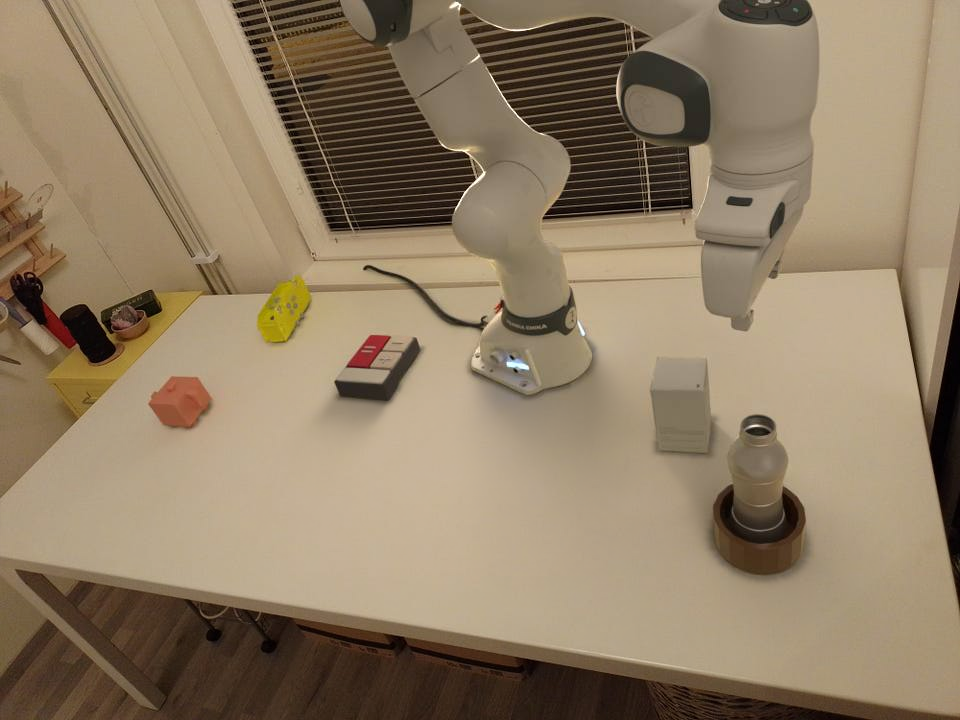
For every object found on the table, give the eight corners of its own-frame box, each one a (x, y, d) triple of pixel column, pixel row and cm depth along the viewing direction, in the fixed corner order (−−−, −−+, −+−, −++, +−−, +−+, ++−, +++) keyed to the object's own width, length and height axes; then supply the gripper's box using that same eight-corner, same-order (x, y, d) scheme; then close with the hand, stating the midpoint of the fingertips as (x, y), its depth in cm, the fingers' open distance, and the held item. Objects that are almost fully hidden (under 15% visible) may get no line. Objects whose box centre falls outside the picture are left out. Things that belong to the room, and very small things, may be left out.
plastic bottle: (789, 556, 87) (795, 446, 75) (731, 555, 89) (728, 447, 77) (782, 513, 92) (787, 403, 79) (727, 513, 94) (724, 406, 81)
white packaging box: (712, 418, 108) (709, 356, 100) (708, 455, 102) (704, 392, 95) (662, 415, 110) (656, 354, 103) (656, 451, 105) (649, 389, 98)
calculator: (416, 333, 137) (381, 382, 127) (422, 351, 140) (388, 400, 129) (368, 332, 142) (331, 379, 131) (375, 349, 144) (339, 396, 134)
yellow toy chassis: (289, 343, 153) (273, 313, 148) (266, 345, 154) (250, 315, 149) (314, 300, 164) (300, 270, 159) (293, 302, 166) (278, 273, 161)
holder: (702, 557, 90) (700, 531, 87) (730, 495, 96) (729, 469, 93) (789, 588, 84) (791, 561, 81) (813, 520, 90) (815, 493, 87)
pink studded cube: (176, 400, 146) (156, 371, 141) (222, 402, 142) (202, 372, 137) (154, 428, 141) (131, 398, 136) (200, 431, 136) (179, 400, 131)
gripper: (760, 130, 73) (757, 243, 82) (686, 233, 62) (692, 352, 71) (825, 132, 70) (815, 250, 79) (760, 242, 58) (757, 366, 67)
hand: (757, 299), depth 74 cm, fingers open, 8 cm apart
